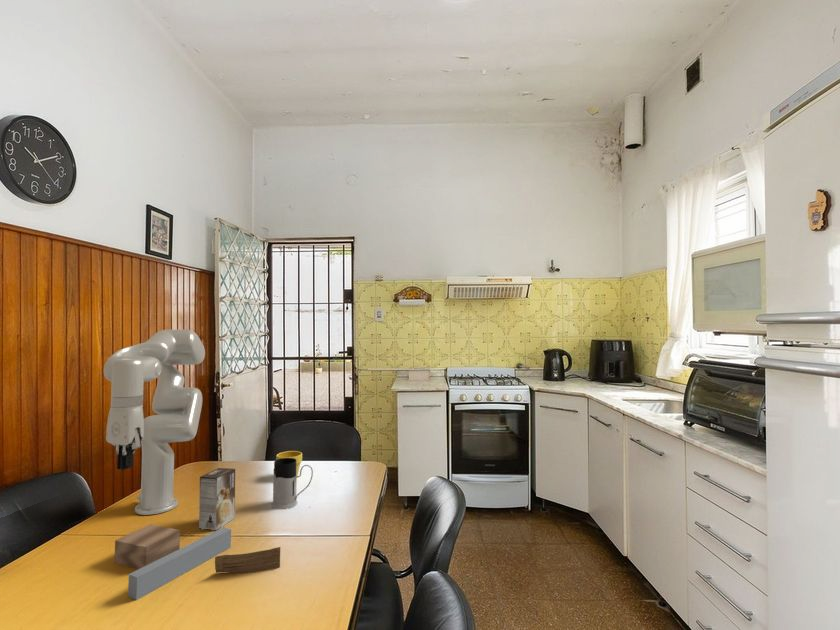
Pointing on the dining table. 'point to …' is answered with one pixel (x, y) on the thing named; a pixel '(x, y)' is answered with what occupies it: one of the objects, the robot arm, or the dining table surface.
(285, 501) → the glass holder
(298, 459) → the plant pot
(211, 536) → the grey board
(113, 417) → the robot arm
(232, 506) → the coffee box
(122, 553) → the walnut block
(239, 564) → the wood plank
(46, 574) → the dining table surface
